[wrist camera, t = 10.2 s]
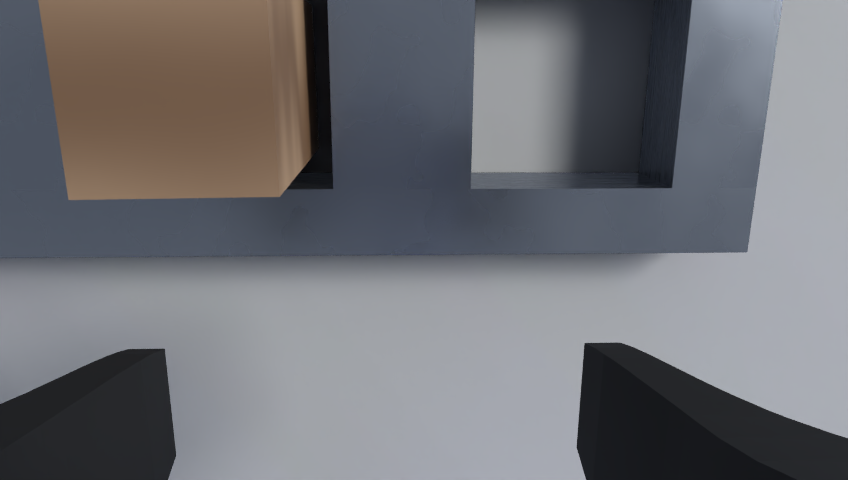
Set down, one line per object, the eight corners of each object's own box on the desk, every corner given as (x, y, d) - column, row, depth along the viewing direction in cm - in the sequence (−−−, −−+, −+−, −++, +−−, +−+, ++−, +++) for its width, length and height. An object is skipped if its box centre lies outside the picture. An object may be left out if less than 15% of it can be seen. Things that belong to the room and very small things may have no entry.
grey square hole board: (705, 229, 21) (747, 252, 18) (-229, 234, 20) (-317, 260, 17) (745, -87, 18) (797, -108, 16) (-320, -103, 17) (-436, -129, 15)
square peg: (319, 148, 20) (279, 196, 13) (181, 150, 19) (68, 199, 13) (312, 4, 19) (265, -25, 12) (166, 5, 18) (34, -24, 12)
